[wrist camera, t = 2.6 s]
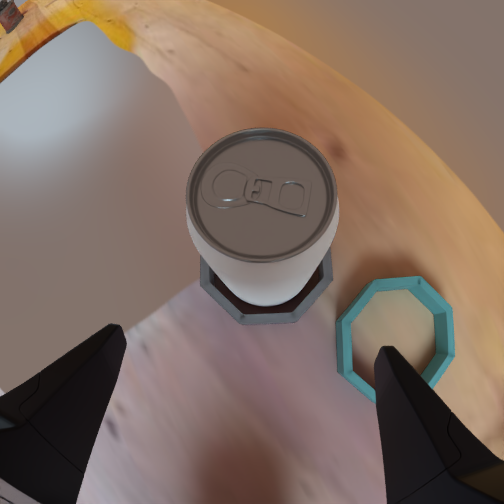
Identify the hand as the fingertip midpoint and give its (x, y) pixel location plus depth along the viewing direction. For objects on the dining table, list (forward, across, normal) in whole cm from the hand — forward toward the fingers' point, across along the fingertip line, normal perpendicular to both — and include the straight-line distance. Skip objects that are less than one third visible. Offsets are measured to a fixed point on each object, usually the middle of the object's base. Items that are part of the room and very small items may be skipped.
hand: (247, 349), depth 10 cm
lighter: (+53, +67, -36) cm, 93 cm away
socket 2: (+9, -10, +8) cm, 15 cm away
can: (+12, 0, +4) cm, 13 cm away
